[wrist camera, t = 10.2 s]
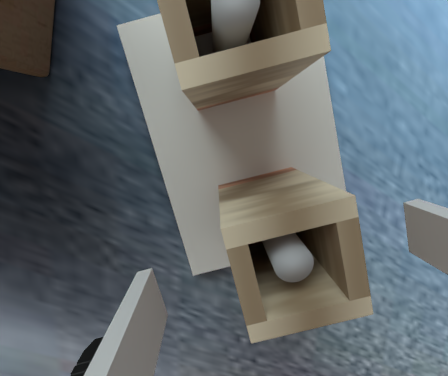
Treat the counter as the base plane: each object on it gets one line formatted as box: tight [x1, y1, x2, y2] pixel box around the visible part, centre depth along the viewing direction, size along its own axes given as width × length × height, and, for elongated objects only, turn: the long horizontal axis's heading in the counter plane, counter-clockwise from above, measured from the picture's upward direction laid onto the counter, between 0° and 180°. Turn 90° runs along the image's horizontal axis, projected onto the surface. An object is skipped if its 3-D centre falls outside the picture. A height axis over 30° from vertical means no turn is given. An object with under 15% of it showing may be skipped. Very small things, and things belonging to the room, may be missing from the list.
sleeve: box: [218, 167, 373, 343], centre depth 17 cm, size 6×6×10 cm
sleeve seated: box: [157, 0, 331, 111], centre depth 15 cm, size 6×6×10 cm
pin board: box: [117, 0, 346, 282], centre depth 18 cm, size 14×20×11 cm
